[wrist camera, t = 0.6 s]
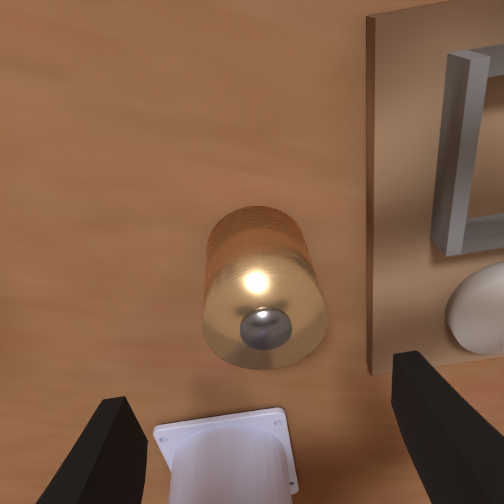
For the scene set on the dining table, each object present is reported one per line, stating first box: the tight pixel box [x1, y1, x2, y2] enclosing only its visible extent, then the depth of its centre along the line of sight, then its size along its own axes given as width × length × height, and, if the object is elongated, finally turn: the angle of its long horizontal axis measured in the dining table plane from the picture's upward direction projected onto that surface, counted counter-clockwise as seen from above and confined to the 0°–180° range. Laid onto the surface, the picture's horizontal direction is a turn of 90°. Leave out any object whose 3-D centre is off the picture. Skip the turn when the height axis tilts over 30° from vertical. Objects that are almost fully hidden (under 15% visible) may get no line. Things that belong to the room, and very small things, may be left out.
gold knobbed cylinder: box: [202, 206, 328, 370], centre depth 16 cm, size 4×4×5 cm
